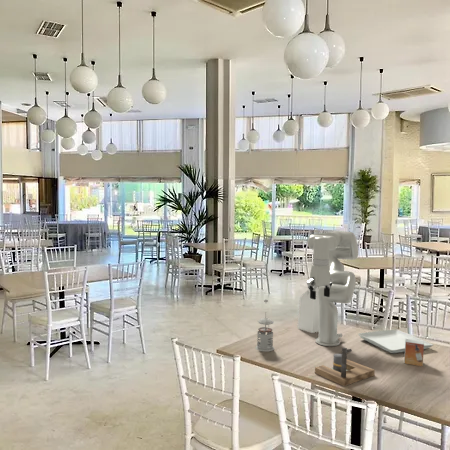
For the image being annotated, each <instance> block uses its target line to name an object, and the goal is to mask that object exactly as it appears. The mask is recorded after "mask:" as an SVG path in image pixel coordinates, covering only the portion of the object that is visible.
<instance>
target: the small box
mask: <svg viewBox="0 0 450 450" xmlns="http://www.w3.org/2000/svg"><path fill="white" fill-rule="evenodd" d="M424 350H425V349H424V341H418V340H410V339H406V341H405V352H404V360H403V361H404V364H407V365H413V366H416V367H417V366H418V367H424V355H425V354H424Z"/></svg>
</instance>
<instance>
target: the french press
mask: <svg viewBox="0 0 450 450" xmlns="http://www.w3.org/2000/svg"><path fill="white" fill-rule="evenodd" d="M263 301H264V303H269V299H264V300H263ZM257 324H260V325H264V326H262V327H259V328H258V331H257V337H256V338H257V339H256V340H257V341H256V342H257V344H256V346H255V350H257V351H259V352H272V351H274V350H275V347H274V341H273V340H274V332H273V329H272V328H271V327H269V326H270V325H273V324H274V320H272V319H271V318H269V317H268V318H267V313H265V317H263V318H262V317H261V318H260V319H258V320H257ZM267 326H268V327H267Z"/></svg>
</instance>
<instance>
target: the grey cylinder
mask: <svg viewBox="0 0 450 450" xmlns="http://www.w3.org/2000/svg"><path fill="white" fill-rule="evenodd" d="M332 360H333V361H332V365H333V367H332V368H333V370H336V371H338V372H340V373H341V363H342V353H333V359H332Z"/></svg>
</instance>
